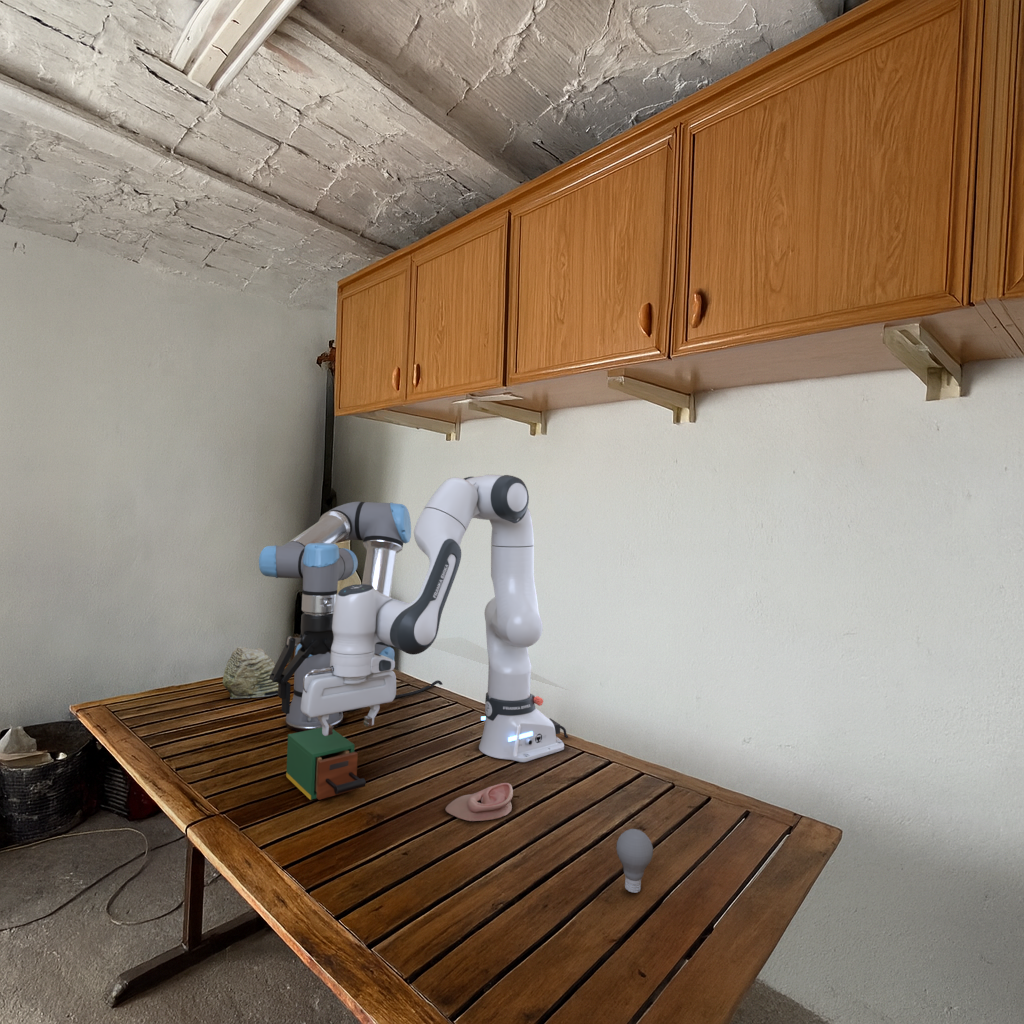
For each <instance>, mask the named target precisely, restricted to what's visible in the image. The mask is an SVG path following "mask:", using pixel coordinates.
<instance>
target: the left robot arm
mask: <svg viewBox="0 0 1024 1024" xmlns="http://www.w3.org/2000/svg"><path fill="white" fill-rule="evenodd" d="M411 538H412V523H411V516H410V512H409V509H408V507H407V506H406V505H405V504H402V503H394V502H375V501H352V502H347V503H343V504H341V505H338V506H336V507H333V508H331V509H329V510H328V511H326V512H324V513H322V515H321V516H320V517H319V519H318V521H317V522H316V523H315V524H313V525H311V526H310V527H308V528H307V529H306V530H304V531H302V532H301V533H300V534H298V535H296V536H295V537H294V538H292V539H290V540H289V541H287V542H286V543H285V544H283V545H276V544H275V545H267V546H265V547H264V548H262V550H261V551H260V554H259V556H258V567H259V571H260V573H261V574H262V575H263V577H270V578H275V579H279V578H281V579H297V580H301V579H302V590H301V591H302V595H301V612H302V614H301V617H300V618H301V619H300V620H301V621H300V635H299V636H291V635H287V636H286V638H285V642H284V647H283V649H282V650H281V654H280V655H279V657H278V659H277V661H276V663H275V667H274V669H273V671H272V673H271V675H270V677H269V678H270V679H271V680H272V681H274V682H278V694H277V696H278V698H280V699H281V712H282V713H284V714H285V726H286V728H287V729H289V730H291V731H294V732H295V731H296V732H302V731H307V730H312V729H317V728H321V727H322V725H321V723H320V721H319V719H318V717H313V718H310V717H308V716H306V715H305V714H304V713H303V712H302V711H301V700H302V694H303V679H304V676H305V675H306V674H307V673H309V672H310V671H311V670H312V669H321V668H325V667H330V656H331V646H332V643H333V631H332V620H333V610H334V604H335V600H336V597H337V594H338V588H339V587H338V585H339V582H340V581H345V580H347V579H349V578H351V576H353V575H354V574H355V573H356V571H357V569H358V565H359V563H358V562H359V561H358V556H357V555H356V554H355V552H354V551H352V550H351V549H350V548H349V549H348V548H345V547H339V546H338V545H337V544H339V543H342V542H344V541H362V546H363V547H364V548H365V550H366V556H365V563H364V568H363V574H362V575H363V576H362V580H361V581H362V582H361V584H368V585H371V586H373V587H374V588H375V589H376V590H377V591H378V592H380V593H382V594H384V595H386V596H388V597H391V598H392V590H393V582H394V575H395V568H396V561H397V556H398V554H399V553H400V552H402V551H403V548H404V544H408V543H410V541H411ZM294 651H295V654H294V657H293V658H292V659H291V657H292V655H293V653H294ZM374 653H376V654H379V655H383V656H385V657H388V658H390V659H392V660H394V661H395V657H396V656H395V650H394V648H393V647H392V646H390V645H388V644H385V643H383V642H377V643H376V644H375V652H374ZM290 659H291V660H290ZM289 661H290V662H289ZM309 675H311V674H309ZM292 676H293V695H292V696H293V697H292V699H291V685H292V684H291V683H290V682H289V680H291V678H292ZM437 684H439V685H440V686H442V685H443V681H441V680H435V681H433V682H432V683H430V684H428V685H426V686H423V687H422V688H419V689H416V690H412V691H409V692H405V693H400V694H399V693H398V694H396V696H395V698H394V700H396V699H400V698H406V697H410V696H413V695H417V694H419V693H422V692H424V691H426V690H428V689H431V688H433V687H434V686H435V685H437ZM429 685H431V686H429ZM359 709H360V708H358V709H353V710H348V711H347V712H354V711H356V710H359ZM343 712H344V711H343ZM343 712H338V713H333V714H329V719H328V720H326V721H327V723H328V724H330V725H331V726H333V729H335V728H337V727H339V726H340V725H342V723H343V722H344V714H343Z"/></svg>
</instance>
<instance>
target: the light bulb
mask: <svg viewBox="0 0 1024 1024" xmlns="http://www.w3.org/2000/svg"><path fill="white" fill-rule="evenodd" d="M615 849H616V854H617V857H618V859H619V861H620V863H621V865H622V867H623V873H624V874H623V875H624V876H625V878H624V888H625V890H627V891H628V892H630V893H634V894H635V893H639V892H640V891H641V889H642V887H641V886H642V879H643V877H644V875H645V871H646V868H647V867H648V866H649V864H650V863H651V861H652V859H653V855H654V847H653V843H652V841H651V838H649V836H648V835H647V834H646V833H645V832H643V831H642V830H641V829H636V828H629V829H627V830H625V831H623V832H622V833H621V834H620V835H619V837H618V839H617V841H616V847H615Z"/></svg>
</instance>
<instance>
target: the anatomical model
mask: <svg viewBox="0 0 1024 1024" xmlns="http://www.w3.org/2000/svg"><path fill="white" fill-rule="evenodd" d="M513 796H514V789H513V786H512V784H511V783H509V782H502V783H498V784H495V785H492V786H488V787H486V788H484V789H481V790H479V791H477V792H474V793H472V794H465V795H461V796H459V797H456V798H455V799H454V800H452V801H451V802H449V803H448V804H447V805H446V807H445V810H444V811H445V812H446V813H448V814H449V815H451V816H453V817H455V818H457V819H461V820H463V821H467V822H482V821H490V820H496V819H500V818H503V817H505V816H507V815H509V814H510V813H511V812H512V808H513V806H512V802H511V801H512V799H513Z"/></svg>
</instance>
